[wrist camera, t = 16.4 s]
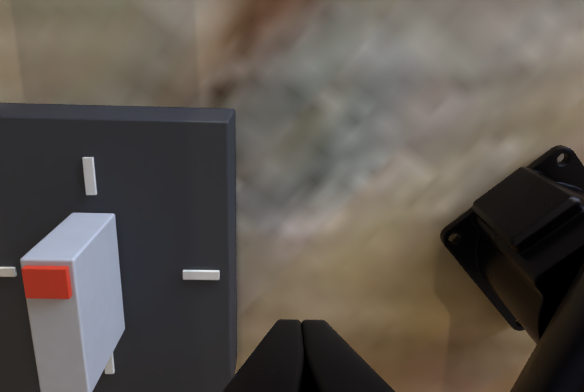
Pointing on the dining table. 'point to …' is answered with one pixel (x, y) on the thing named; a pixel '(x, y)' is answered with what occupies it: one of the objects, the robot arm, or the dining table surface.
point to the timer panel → (129, 234)
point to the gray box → (74, 301)
